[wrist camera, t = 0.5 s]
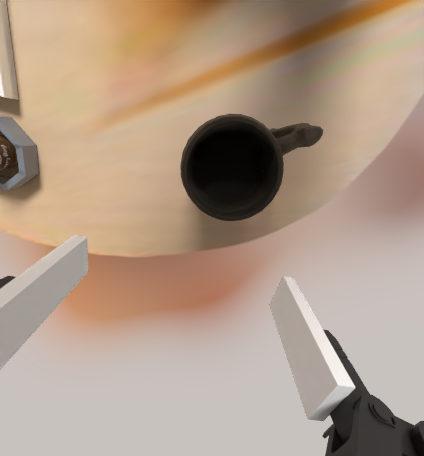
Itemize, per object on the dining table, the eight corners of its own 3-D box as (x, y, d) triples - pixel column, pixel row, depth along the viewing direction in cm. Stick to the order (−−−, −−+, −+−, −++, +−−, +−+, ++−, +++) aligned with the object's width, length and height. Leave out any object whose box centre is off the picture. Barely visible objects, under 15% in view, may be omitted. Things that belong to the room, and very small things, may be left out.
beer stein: (210, 197, 39) (220, 245, 21) (177, 148, 36) (153, 154, 17) (280, 151, 37) (360, 160, 18) (252, 93, 33) (319, 30, 15)
